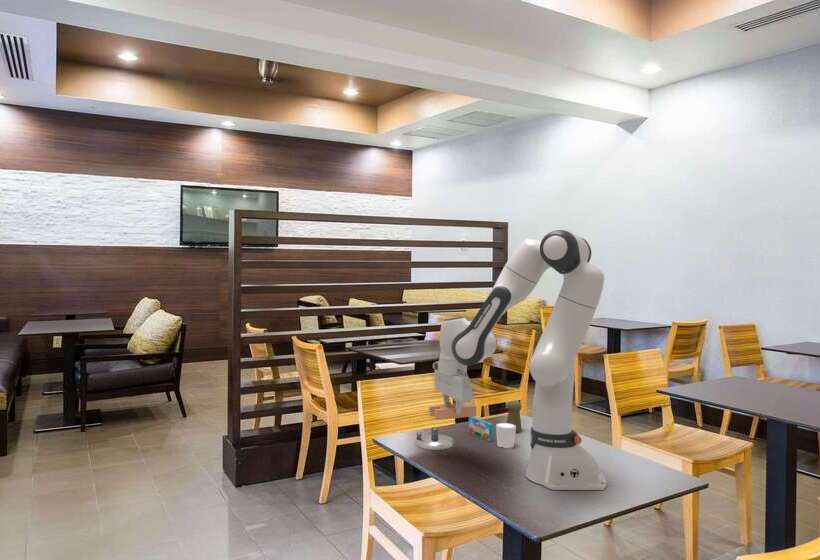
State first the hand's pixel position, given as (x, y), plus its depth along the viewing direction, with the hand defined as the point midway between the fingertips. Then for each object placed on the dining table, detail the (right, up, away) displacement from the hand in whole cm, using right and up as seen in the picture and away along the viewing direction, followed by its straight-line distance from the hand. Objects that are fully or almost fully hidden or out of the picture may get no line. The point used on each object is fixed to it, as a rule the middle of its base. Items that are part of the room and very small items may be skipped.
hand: (452, 410), depth 180 cm
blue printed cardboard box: (+12, -15, +21) cm, 29 cm away
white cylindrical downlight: (+19, -15, +12) cm, 27 cm away
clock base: (-5, -15, +12) cm, 20 cm away
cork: (+25, -15, +29) cm, 41 cm away
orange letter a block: (0, -2, 0) cm, 2 cm away
